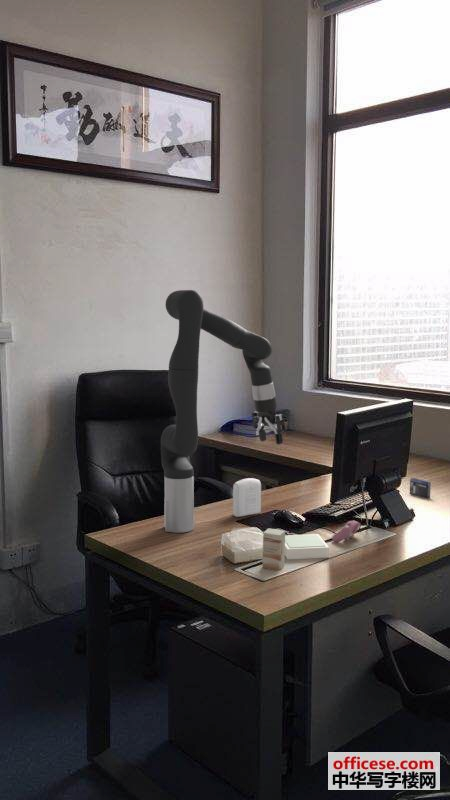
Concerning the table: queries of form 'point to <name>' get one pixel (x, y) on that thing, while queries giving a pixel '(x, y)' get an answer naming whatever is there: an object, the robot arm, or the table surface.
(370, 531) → the table surface
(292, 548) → the plinth
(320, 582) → the table surface
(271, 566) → the skincare box
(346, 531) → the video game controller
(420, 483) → the mini dv tape
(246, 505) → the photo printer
